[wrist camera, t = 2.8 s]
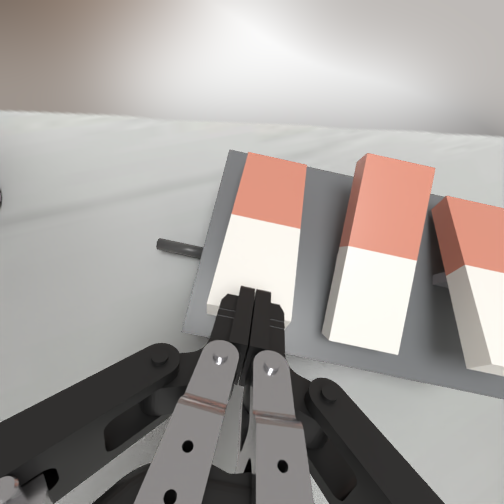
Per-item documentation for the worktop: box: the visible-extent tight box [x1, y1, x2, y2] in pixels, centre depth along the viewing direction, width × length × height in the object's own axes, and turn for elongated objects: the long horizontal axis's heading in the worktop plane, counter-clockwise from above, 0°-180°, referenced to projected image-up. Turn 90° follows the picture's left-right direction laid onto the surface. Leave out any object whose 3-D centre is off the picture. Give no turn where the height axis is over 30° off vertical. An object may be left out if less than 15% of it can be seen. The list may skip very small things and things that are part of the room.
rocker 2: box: [322, 153, 435, 355], centre depth 19 cm, size 5×13×2 cm, turn 169°
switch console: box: [156, 150, 504, 399], centre depth 26 cm, size 31×16×11 cm, turn 78°
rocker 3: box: [431, 196, 504, 376], centre depth 20 cm, size 5×13×2 cm, turn 168°
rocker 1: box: [207, 152, 307, 328], centre depth 19 cm, size 5×13×2 cm, turn 169°
